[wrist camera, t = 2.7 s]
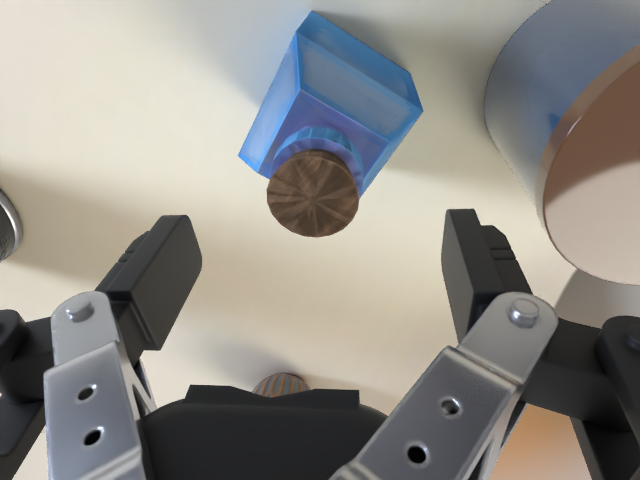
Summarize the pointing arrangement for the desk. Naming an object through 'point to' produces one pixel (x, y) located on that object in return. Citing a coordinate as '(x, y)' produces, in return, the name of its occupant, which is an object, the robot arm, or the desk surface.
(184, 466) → the robot arm
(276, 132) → the perfume bottle
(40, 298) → the desk surface
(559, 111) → the jar
